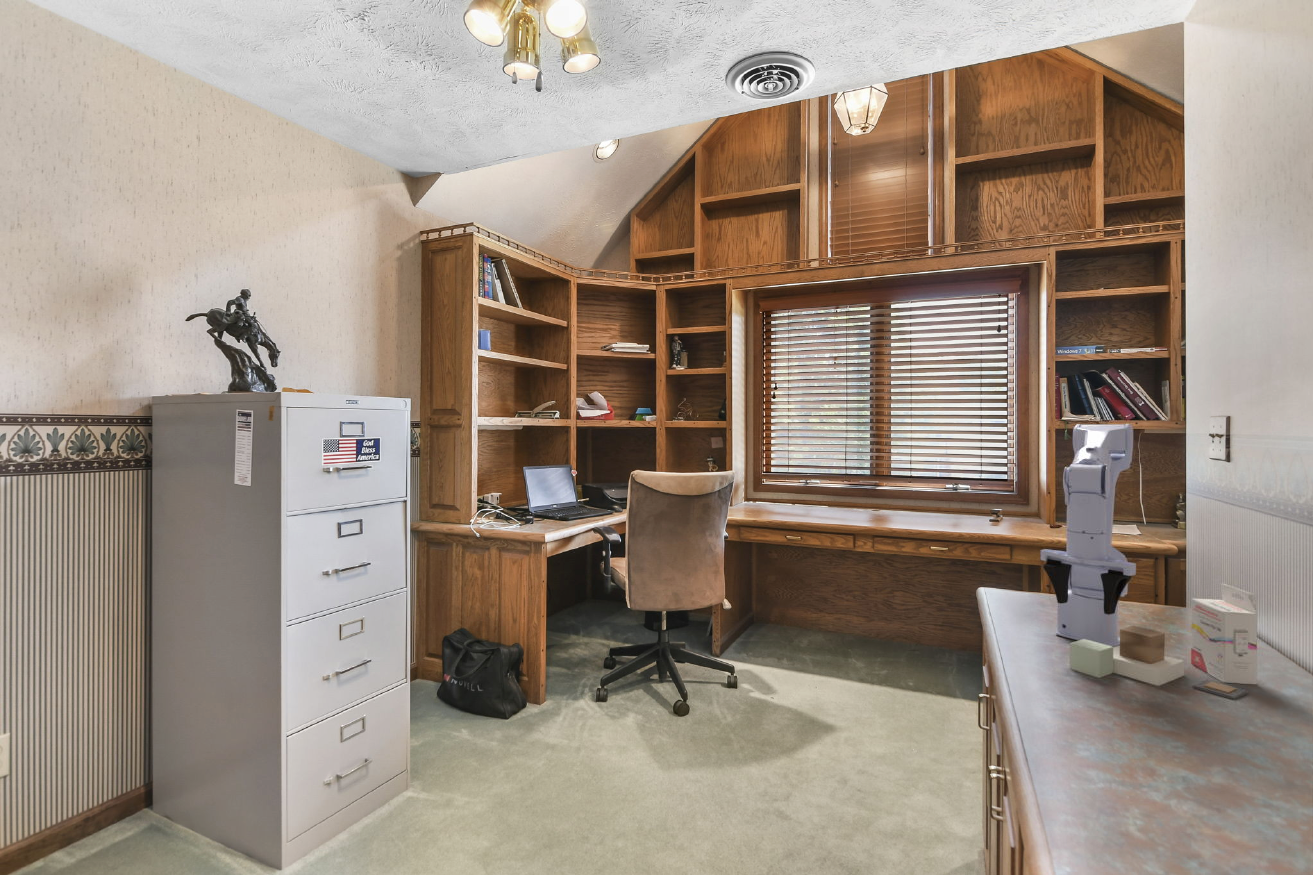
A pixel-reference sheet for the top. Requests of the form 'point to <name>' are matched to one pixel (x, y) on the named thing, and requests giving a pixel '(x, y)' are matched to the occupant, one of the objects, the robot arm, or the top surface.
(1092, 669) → the sage block
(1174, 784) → the top surface
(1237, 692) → the tile
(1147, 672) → the base block
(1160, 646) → the walnut block
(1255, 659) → the ink cartridge box
